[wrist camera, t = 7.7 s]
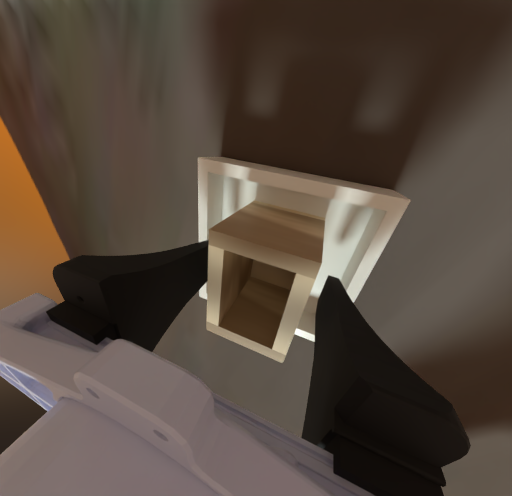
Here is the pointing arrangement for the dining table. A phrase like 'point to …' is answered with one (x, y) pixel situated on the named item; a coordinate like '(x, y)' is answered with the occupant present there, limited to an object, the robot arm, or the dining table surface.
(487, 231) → the dining table surface
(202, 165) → the white square tray
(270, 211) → the pine crate
